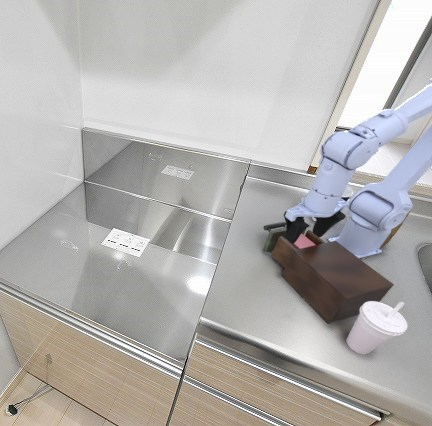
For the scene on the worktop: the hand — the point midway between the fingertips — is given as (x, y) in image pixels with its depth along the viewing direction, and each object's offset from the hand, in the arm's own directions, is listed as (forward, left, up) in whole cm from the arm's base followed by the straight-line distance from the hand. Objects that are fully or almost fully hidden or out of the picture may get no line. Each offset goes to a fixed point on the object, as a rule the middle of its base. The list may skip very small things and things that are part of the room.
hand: (303, 237), depth 70 cm
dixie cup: (-21, -12, -8) cm, 26 cm away
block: (0, 0, -6) cm, 6 cm away
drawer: (0, -1, -7) cm, 7 cm away
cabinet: (0, +10, -8) cm, 13 cm away
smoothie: (+4, +22, -8) cm, 24 cm away
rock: (-29, -2, -8) cm, 30 cm away
